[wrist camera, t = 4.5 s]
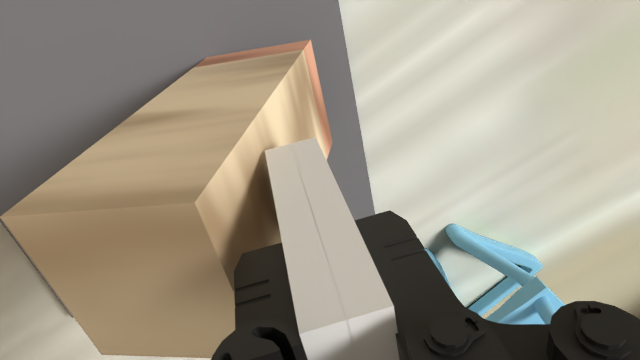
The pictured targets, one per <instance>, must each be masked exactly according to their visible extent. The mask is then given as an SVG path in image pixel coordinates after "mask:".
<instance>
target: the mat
mask: <svg viewBox="0 0 640 360" xmlns="http://www.w3.org/2000/svg"><path fill="white" fill-rule="evenodd" d="M305 40H311V43H312V48H313V53H314V57H315V62H316V67H317V71H318V76H319V81H320V85H321V90H322V95H323V100H324V104H325V109H326V114H327V118H328V123H329V128H330V132H331V137H332V145H331V148H330V152H329V155H328V158H327V163H328V165H329V167H330V169H331V171H332V173H333V176H334V178H335V180H336V182H337V184H338V186H339V189H340V191H341V193H342V195H343V197H344V199H345V202H346V204H347V206H348V208H349V210H350V212H351V215H352V217H353V219H354V220H358V219H361V218H365V217H368V216H372V215H375V212H374V206H373V200H372V194H371V188H370V183H369V177H368V171H367V165H366V159H365V154H364V148H363V142H362V136H361V130H360V125H359V119H358V113H357V107H356V101H355V95H354V90H353V84H352V78H351V72H350V66H349V61H348V55H347V49H346V43H345V37H344V32H343V26H342V20H341V14H340V8H339V3H338V0H0V216H2V215H3V214H4V213H5V212H7V211H8V210H9V209H11V208H12V207H13V206H15V205H16V204H17V203H18V202H20V201H21V200H22V199H24V198H25V197H26V196H28V195H29V194H30V193H31V192H33V191H34V190H35V189H37V188H38V187H39V186H40V185H42V184H43V183H44V182H46V181H47V180H48V179H50V178H51V177H52V176H53V175H55V174H56V173H57V172H59V171H60V170H61V169H63V168H64V167H65V166H66V165H68V164H69V163H70V162H72V161H73V160H74V159H76V158H77V157H78V156H79V155H81V154H82V153H83V152H85V151H86V150H87V149H88V148H90V147H91V146H92V145H94V144H95V143H96V142H98V141H99V140H100V139H101V138H103V137H104V136H105V135H107V134H108V133H109V132H111V131H112V130H113V129H114V128H116V127H117V126H118V125H120V124H121V123H122V122H123V121H125V120H126V119H127V118H129V117H130V116H131V115H133V114H134V113H135V112H136V111H138V110H139V109H140V108H142V107H143V106H144V105H146V104H147V103H148V102H149V101H151V100H152V99H153V98H155V97H156V96H157V95H158V94H160V93H161V92H162V91H164V90H165V89H166V88H168V87H169V86H170V85H171V84H173V83H174V82H175V81H177V80H178V79H179V78H181V77H182V76H183V75H184V74H186V73H187V72H188V71H190V70H191V69H192V68H193V67H195V66H196V65H197V64H199V63H200V62H201V61H203V60H204V59H205V58H206V57H211V56H217V55H223V54H229V53H235V52H241V51H246V50H252V49H258V48H264V47H270V46H276V45H282V44H288V43H293V42H299V41H305ZM0 221H1V223H2V224H3V225H4V227H5V228H6V229H7V231H8V232H9V233H10V235H11V236H12V237H13V239H14V240H15V241H16V243H17V244H18V245H19V247H20V248H21V249H22V251H23V252H24V254H25V255H26V256H27V258H28V259H29V260H30V262H31V263H32V264H33V266H34V267H35V268H36V270H37V271H38V272H39V274H40V275H41V276H42V278H43V279H44V280H45V282H46V283H47V284H48V286H49V287H50V288H51V290H52V291H53V292H54V294H55V295H56V297H57V298H58V299H59V301H60V302H61V303H62V305H63V306H64V307H65V309H66V310H67V311H68V313H69V314H70V315H71V317H72V318H73V315H72V314H71V313H70V311H69V310H68V308H67V307H66V306H65V304H64V303H63V302H62V300H61V299H60V298H59V296H58V295H57V294H56V292H55V291H54V290H53V288H52V287H51V285H50V284H49V283H48V281H47V280H46V279H45V277H44V276H43V275H42V273H41V272H40V271H39V269H38V268H37V267H36V265H35V264H34V263H33V261H32V260H31V258H30V257H29V256H28V254H27V253H26V252H25V250H24V249H23V248H22V246H21V245H20V244H19V242H18V241H17V240H16V238H15V237H14V236H13V234H12V233H11V231H10V230H9V229H8V227H7V226H6V225H5V223H4V222H3V221H2V219H1V218H0Z"/></svg>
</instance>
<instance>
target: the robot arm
mask: <svg viewBox="0 0 640 360" xmlns="http://www.w3.org/2000/svg"><path fill="white" fill-rule="evenodd" d="M265 155H266V160H267V165H268V171H269V176H270V181H271V187H272V192H273V197H274V203H275V208H276V213H277V219H278V224H279V229H280V234H281V240H282V242H281V243H278V244H274V245H271V246H267V247H264V248H260V249H257V250H253V251H249V252H246V253H242V255H241V257H240V259H239V262H238V264H237V266H236V268H235V270H234V290H235V293H234V298H235V330H234V331H233V332H232V333H231V334H230V335H229V336H227V337H226V338H225V339H224V340H223V341H222V342H221V343H220V345H219V346H218V348H217V349H216V351H215V352H214V354H213V355H212V359H211V360H640V319H638V318H637V317H635V316H634V315H632V314H630V313H628V312H625V311H623V310H621V309H619V308H617V307H615V306H612V305H608V304H604V303H600V302H596V301H575V302H573V303H570V304H567V305H564V306H561V307H560V308H559V309H558V310H557V311H556V312H555V313H554V314H553V315H552V317H551V322H550V324H503V323H497V322H493V321H489V320H486V319H484V318H482V317H481V316H480V315H479V314H478V313H476V312H474V311H472V310H470V309H468V308H466V307H464V306H463V305H462V303H461V302H460V301H459V300H458V299H457V297H456V296H455V294H454V293H453V291H452V290H451V288H450V287H449V285H448V283H447V282H446V280H445V279H444V277H443V276H442V274H441V273H440V271H439V270H438V268H437V267H436V265H435V263H434V262H433V260H432V259H431V257H430V256H429V254H428V253H427V251H425V249H424V247H423V245H422V244H421V242H420V240H419V239H418V238H417V237H416V234H415V233H414V231H413V230H412V228H411V227H410V225H409V224H408V222H407V221H406V220H405V219H403V218H402V217H400V216H398V215H397V214H395V213H393V212H392V211H386V212H383V213H379V214H375V215H372V216H368V217H365V218H361V219H358V220H354V219H353V217H352V215H351V212H350V210H349V208H348V206H347V204H346V202H345V199H344V197H343V195H342V193H341V191H340V189H339V186H338V184H337V182H336V180H335V178H334V176H333V173H332V171H331V169H330V167H329V165H328V163H327V161H326V158H325V156H324V154H323V152H322V150H321V148H320V145H319V143H318V141H317V139H316V137H314V138H310V139H306V140H303V141H299V142H295V143H291V144H288V145H284V146H280V147H276V148H273V149H269V150H265Z"/></svg>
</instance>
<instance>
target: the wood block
mask: <svg viewBox="0 0 640 360" xmlns="http://www.w3.org/2000/svg"><path fill="white" fill-rule="evenodd" d="M314 137H316V139H317V141H318V143H319V145H320V148H321V150H322V152H323V154H324V156H325V158H326V161H327V158H328V155H329V152H330V148H331V145H332V137H331V132H330V128H329V123H328V118H327V114H326V109H325V104H324V100H323V95H322V90H321V85H320V81H319V76H318V71H317V67H316V62H315V57H314V53H313V48H312V43H311V40H305V41H299V42H293V43H288V44H282V45H276V46H270V47H264V48H258V49H252V50H246V51H241V52H235V53H229V54H223V55H217V56H211V57H206V58H205V59H204V60H203V61H201V62H200V63H199V64H197V65H196V66H195V67H193V68H192V69H191V70H190V71H188V72H187V73H186V74H184V75H183V76H182V77H181V78H179V79H178V80H177V81H175V82H174V83H173V84H171V85H170V86H169V87H168V88H166V89H165V90H164V91H162V92H161V93H160V94H158V95H157V96H156V97H155V98H153V99H152V100H151V101H149V102H148V103H147V104H146V105H144V106H143V107H142V108H140V109H139V110H138V111H136V112H135V113H134V114H133V115H131V116H130V117H129V118H127V119H126V120H125V121H123V122H122V123H121V124H120V125H118V126H117V127H116V128H114V129H113V130H112V131H111V132H109V133H108V134H107V135H105V136H104V137H103V138H101V139H100V140H99V141H98V142H96V143H95V144H94V145H92V146H91V147H90V148H88V149H87V150H86V151H85V152H83V153H82V154H81V155H79V156H78V157H77V158H76V159H74V160H73V161H72V162H70V163H69V164H68V165H66V166H65V167H64V168H63V169H61V170H60V171H59V172H57V173H56V174H55V175H53V176H52V177H51V178H50V179H48V180H47V181H46V182H44V183H43V184H42V185H40V186H39V187H38V188H37V189H35V190H34V191H33V192H31V193H30V194H29V195H28V196H26V197H25V198H24V199H22V200H21V201H20V202H18V203H17V204H16V205H15V206H13V207H12V208H11V209H9V210H8V211H7V212H5V213H4V214H3V215H2V216H0V218H1V219H2V221H3V222H4V223H5V225H6V226H7V227H8V229H9V230H10V231H11V233H12V234H13V236H14V237H15V238H16V240H17V241H18V242H19V244H20V245H21V246H22V248H23V249H24V250H25V252H26V253H27V254H28V256H29V257H30V258H31V260H32V261H33V263H34V264H35V265H36V267H37V268H38V269H39V271H40V272H41V273H42V275H43V276H44V277H45V279H46V280H47V281H48V283H49V284H50V285H51V287H52V288H53V290H54V291H55V292H56V294H57V295H58V296H59V298H60V299H61V300H62V302H63V303H64V304H65V306H66V307H67V308H68V310H69V311H70V313H71V314H72V315H73V317H74V318H75V319H76V321H77V322H78V323H79V325H80V326H81V327H82V329H83V330H84V331H85V333H86V334H87V335H88V337H89V338H90V340H91V341H92V342H93V344H94V345H95V346H96V348H97V349H98V350H99V352H100V353H101V354H102V355H129V356H161V357H193V358H212V355H213V354H214V352H215V351H216V349H217V348H218V346H219V345H220V343H221V342H222V341H223V340H224V339H225V338H226V337H227V336H229V335H230V334H231V333H232V332H233V331H234V330H235V298H234V293H235V290H234V270H235V268H236V266H237V264H238V262H239V259H240V257H241V255H242V253H246V252H249V251H253V250H257V249H260V248H264V247H267V246H271V245H274V244H278V243H281V242H282V240H281V234H280V229H279V224H278V219H277V213H276V208H275V203H274V197H273V192H272V187H271V181H270V176H269V171H268V165H267V160H266V155H265V150H269V149H273V148H276V147H280V146H284V145H288V144H291V143H295V142H299V141H303V140H306V139H310V138H314Z"/></svg>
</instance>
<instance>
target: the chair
mask: <svg viewBox="0 0 640 360" xmlns="http://www.w3.org/2000/svg"><path fill="white" fill-rule="evenodd" d="M445 231H446V234H447V235H448V236H449V238H450V239H451V240H452V241H453V243H454V244H455V245H457V246H458V247H460V248H461V249H463V250H465V251H466V252H468V253H470V254H471V255H473V256H475V257H476V258H478V259H480V260H481V261H483V262H485V263H486V264H488V265H490V266H491V267H493V268H495V269H496V270H498V271H499V272H501V273H503V274H504V275H506V276H507V278H506V279H504V280H503V281H502V282H501V283H499V284H498V285H497V286H496V287H494V288H493V289H492V290H491V291H489V292H488V293H487V294H485V295H484V296H483V297H482V298H480V299H479V300H478V301H477V302H475V303H474V304H473V305H472V306H470V307H469V308H468V309H470V310H472V311H474V312H476V313H478V314H479V315H480V316H482V315H483V314H484V313H486V312H487V311H488V310H490V309H491V308H492V307H493V306H495V305H496V304H497V303H499V302H500V301H501V300H502V299H504V298H505V297H506V296H508V295H509V294H510V293H511V292H513V291H514V290H515V289H516V288H518V287H519V286H520V285H521V286H523V287H522V288H520V289H519V290H518V291H517V292H516V293H515V294H514V295H512V296H511V297H510V298H509V299H508V300H507V301H506V302H505V303H504V304H503V305H502V306H501V307H500V308H499V309H498V310H496V311H495V312H494V313H492V314H491V315H490V316H488V317H487V318H486V320H489V321H493V322H497V323H503V324H550V322H551V317H552V315H553V314H554V313H555V312H556V311H557V310H558V309H559V308H560V307H561V306H564V305H565V304H564V303H563V302H562V301H561V300H560V299H559V298H558V297H557V296H556V295H555V294H554V293H553V292H552V291H551V290H550V289H549V288H548V287H547V286H546V285H545V284H544V283H543V282H542V281H541V280H540V279H539V278H538V277H537V276H536V277H534V276H533V275H534V274H536V273H537V272H538V271H540V270H541V268H542V267H543V266H542V264H541V263H540V262H539V261H538V260H537V259H536V258H535V257H534V256H533V255H531V254H529V253H527V252H525V251H523V250H520V249H517V248H515V247H512V246H509V245H506V244H503V243H500V242H497V241H494V240H491V239H489V238H486V237H483V236H480V235H478V234H475V233H473V232H470V231H468V230H466V229H464V228H462V227H460V226H458V225H456V224H450V225H448V226H447V227H446V230H445ZM424 249H425V248H424ZM425 251H427V253H428V254H429V256H430V257H431V259H432V260H433V262H434V263H435V265H436V267H437V268H438V270H439V271H440V273H441V274H442V276H443V277H444V279H445V280H446V282H447V283H448V280H447V278H446V276H445V273H444V271H443V269H442V267H441V265H440V263H439V262H438V261H437V259H436V258H435V256H434V255H433V254H432V252H431V251H429V250H428V249H425ZM513 263H514V264H513ZM515 264H518V265H522V266H521V267H518V266H517V265H515ZM448 285H449V283H448ZM449 287H450V286H449Z"/></svg>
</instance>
